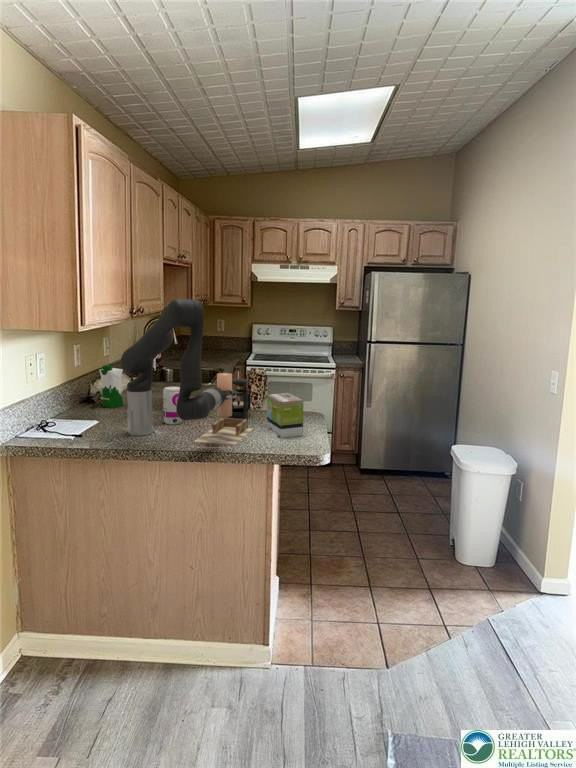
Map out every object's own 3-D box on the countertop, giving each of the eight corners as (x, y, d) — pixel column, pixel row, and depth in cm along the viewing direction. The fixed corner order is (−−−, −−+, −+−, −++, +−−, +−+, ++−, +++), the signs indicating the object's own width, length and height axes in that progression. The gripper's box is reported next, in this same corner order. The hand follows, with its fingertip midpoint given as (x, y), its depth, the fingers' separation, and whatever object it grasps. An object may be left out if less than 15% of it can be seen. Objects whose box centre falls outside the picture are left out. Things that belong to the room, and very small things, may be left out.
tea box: (266, 429, 220) (266, 393, 218) (288, 426, 224) (288, 392, 222) (280, 438, 207) (280, 401, 204) (303, 436, 211) (304, 399, 208)
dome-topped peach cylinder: (229, 417, 203) (229, 375, 200) (215, 416, 204) (214, 374, 201) (236, 412, 211) (236, 372, 208) (222, 411, 212) (222, 371, 209)
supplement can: (187, 422, 229) (186, 388, 227) (171, 425, 223) (170, 390, 221) (176, 419, 235) (175, 385, 232) (159, 422, 229) (158, 388, 226)
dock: (234, 447, 194) (234, 435, 193) (193, 444, 198) (193, 432, 197) (254, 430, 218) (254, 419, 217) (217, 427, 222) (217, 416, 221)
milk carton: (99, 406, 257) (97, 365, 254) (114, 403, 265) (112, 363, 261) (111, 409, 253) (109, 367, 249) (126, 405, 260) (124, 364, 257)
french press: (236, 421, 232) (236, 368, 228) (222, 417, 239) (221, 366, 234) (256, 416, 241) (256, 366, 236) (242, 413, 247) (242, 363, 243)
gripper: (230, 389, 188) (244, 382, 205) (191, 387, 192) (209, 380, 208) (230, 410, 190) (244, 401, 206) (192, 408, 193) (209, 399, 209)
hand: (226, 391), depth 207 cm, fingers closed on dome-topped peach cylinder, 5 cm apart
